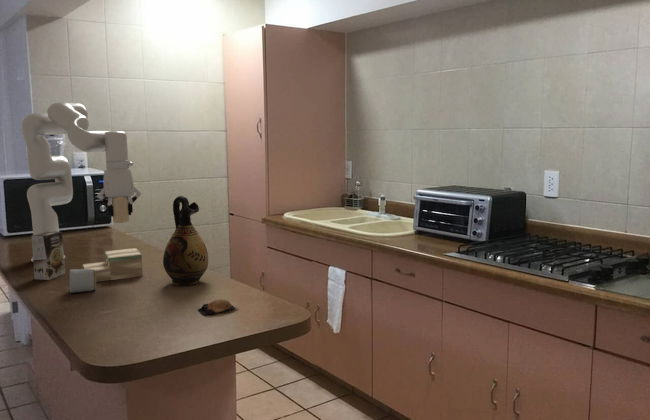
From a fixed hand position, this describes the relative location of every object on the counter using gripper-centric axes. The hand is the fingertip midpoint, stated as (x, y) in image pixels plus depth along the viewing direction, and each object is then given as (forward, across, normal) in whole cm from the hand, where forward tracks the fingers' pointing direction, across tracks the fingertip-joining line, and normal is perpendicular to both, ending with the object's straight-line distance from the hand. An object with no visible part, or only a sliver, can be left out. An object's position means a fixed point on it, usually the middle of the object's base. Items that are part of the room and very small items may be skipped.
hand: (120, 214), depth 208 cm
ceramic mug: (+22, +15, +15) cm, 31 cm away
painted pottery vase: (+22, -17, +22) cm, 36 cm away
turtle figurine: (+23, -18, +58) cm, 65 cm away
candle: (+3, 0, 0) cm, 3 cm away
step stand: (+22, +4, 0) cm, 22 cm away
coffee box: (+22, +25, -10) cm, 35 cm away
